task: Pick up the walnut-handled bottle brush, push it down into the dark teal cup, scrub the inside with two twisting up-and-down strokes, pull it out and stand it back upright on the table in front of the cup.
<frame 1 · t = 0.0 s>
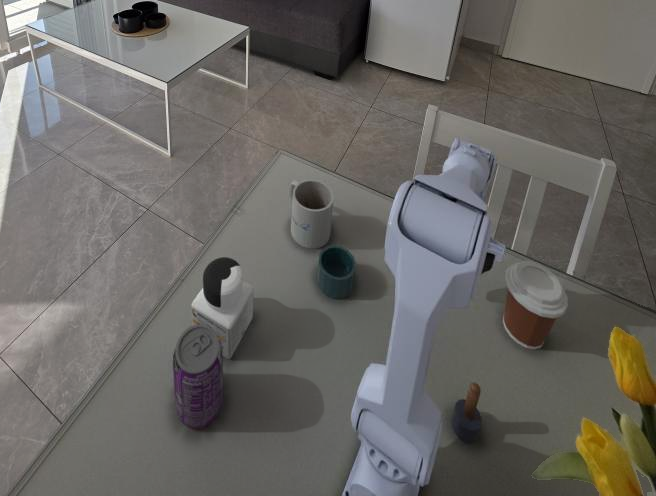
hand: (448, 267, 75), 10 cm above the table, tool pointing down, fingers open, 7 cm apart
mug: (307, 224, 95), on the table
coffee cup: (522, 329, 76), on the table
dark teal cup: (335, 281, 83), on the table
beverage can: (199, 402, 65), on the table
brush: (464, 427, 62), on the table
container: (223, 327, 74), on the table
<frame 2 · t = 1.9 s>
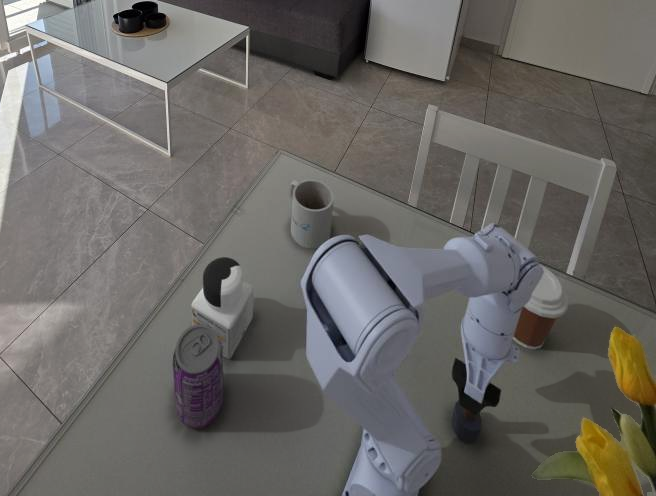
hand: (473, 380, 60), 9 cm above the table, tool pointing down, fingers open, 7 cm apart
nothing on the table moved.
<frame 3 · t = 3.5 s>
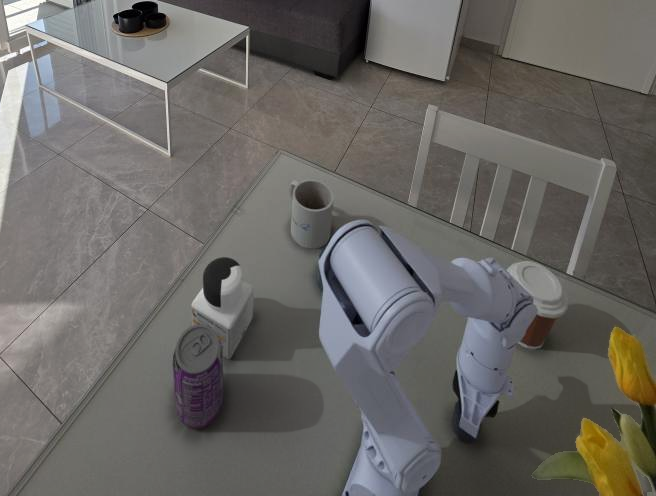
hand: (469, 410, 61), 4 cm above the table, tool pointing down, fingers closed on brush
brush: (464, 427, 62), on the table, touching gripper
everything else where it was.
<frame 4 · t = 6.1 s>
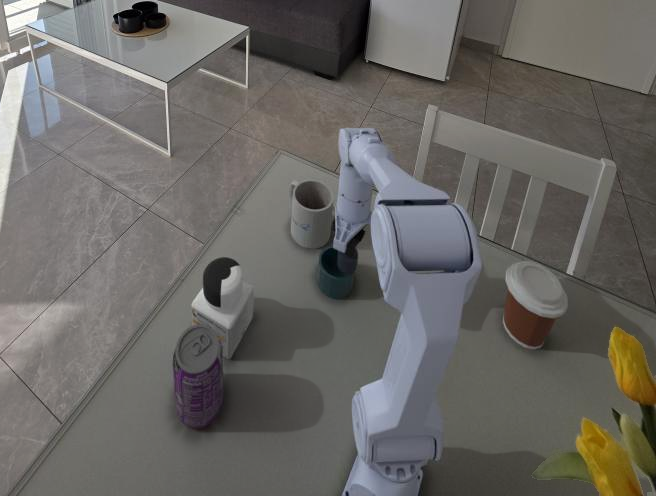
hand: (348, 248, 78), 10 cm above the table, tool pointing down, fingers closed on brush
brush: (346, 264, 79), point 7 cm above the table, touching gripper
everything else where it was.
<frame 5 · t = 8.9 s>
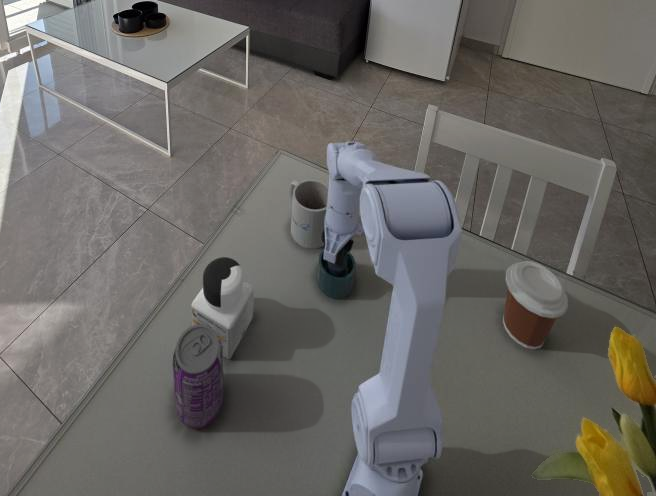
hand: (337, 258, 81), 6 cm above the table, tool pointing down, fingers closed on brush
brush: (336, 273, 82), point 2 cm above the table, touching gripper
everything else where it was.
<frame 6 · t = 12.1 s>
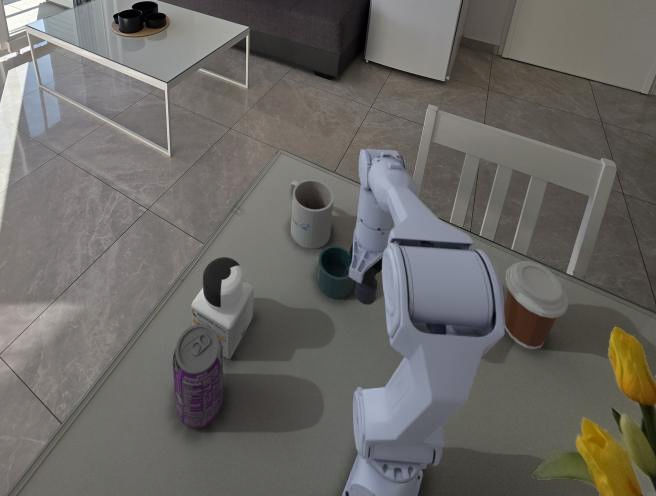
hand: (367, 277, 73), 10 cm above the table, tool pointing down, fingers closed on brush
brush: (365, 294, 74), point 6 cm above the table, touching gripper
everything else where it was.
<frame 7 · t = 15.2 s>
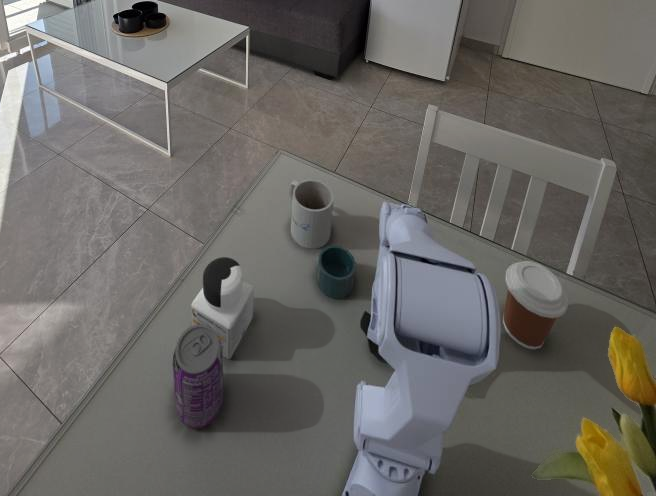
hand: (385, 332, 70), 4 cm above the table, tool pointing down, fingers open, 7 cm apart
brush: (383, 350, 72), on the table
everything else where it was.
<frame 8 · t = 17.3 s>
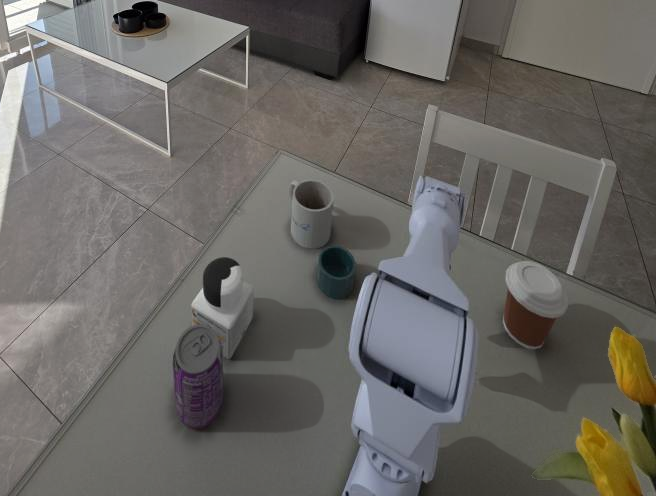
hand: (416, 316, 67), 10 cm above the table, tool pointing down, fingers open, 7 cm apart
nothing on the table moved.
at the end: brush 0.1 cm from the target spot on the table beside the dark teal cup, on the table; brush tilted 0°; the gripper is holding nothing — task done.
